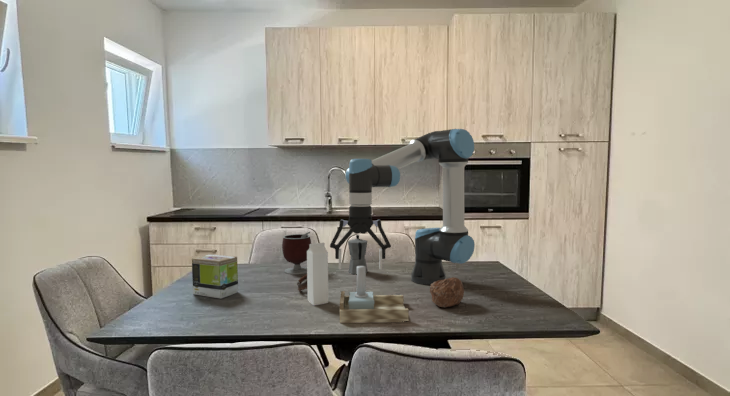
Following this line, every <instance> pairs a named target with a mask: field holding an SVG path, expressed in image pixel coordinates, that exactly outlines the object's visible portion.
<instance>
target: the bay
mask: <svg viewBox="0 0 730 396" xmlns="http://www.w3.org/2000/svg"><path fill="white" fill-rule="evenodd" d="M345 292H346V291H345V290H342V291H340V298H339V324H344V323H345V324H350V323H351V324H353V323H354V324H355V323H356V324H357V323H360V324H361V323H363V324H364V323H367V324H368V323H405V322H404V321H410V320H409V317H410V315H409V308H408V307H407V308H406V307H405V304H404V301H405V300H404V299H405V298H404V294H401V293H400V292H396V293H394V294H380V295H379V294H373V299H374V309H349V302H348V301H349V295H346V293H345ZM402 321H403V322H402Z"/></svg>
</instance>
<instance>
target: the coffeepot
mask: <svg viewBox="0 0 730 396" xmlns="http://www.w3.org/2000/svg"><path fill="white" fill-rule="evenodd" d="M355 237H356V238H354V239H350V240H348V241H347V245H348V250H349V251H348V252H349V255H350V259H349V264H348V265H349V266H348V273H349V274H350V273H351V274H350V275H355V274H357V266H365V267H366V274H367V273H368V267H367V266H368V265H367V259H366V254H367V248H368V247H367V246H368V240H365V239H362V238H360V235H359V234H355Z"/></svg>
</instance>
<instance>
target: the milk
mask: <svg viewBox="0 0 730 396" xmlns="http://www.w3.org/2000/svg"><path fill="white" fill-rule="evenodd" d="M328 257H329V252H328V250H327V249H326V243H325V242H317V243H316V242H315V243H311V244H310V245H309V249H308V250H307V261H306V267H307V273H306V275H307V279H306V281H307V289H306V290H307V301H308V302H309V303H310V304H311V305H312V306H319V305H325V304H328V303H329V258H328Z"/></svg>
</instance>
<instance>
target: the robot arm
mask: <svg viewBox="0 0 730 396" xmlns="http://www.w3.org/2000/svg"><path fill="white" fill-rule="evenodd" d="M474 151H475V141H474V138H473V135H472V134H471V133H470V132H469V131H468V130H466V129H465V128H452V129H444V130H436V131H435V130H434V131H431V132H428V133H426V134H423V135H422V136H419V137H416V138H415V139H412V140H410V141H409V143H408V144H407V145H404V146H402V147H399V148H397V149H395V150H393V151H391V152H388V153H386V154H383V155H381V156H379V157H377V158H374V159H371V158H352V159H350V161H349V164H348V166H349V167H348V168H347V169H346V171H345V180H346V182H347V184H348V186H349V188H348V190H349V191H348V203H349V204H348V205H350V206H349V207H348V216H349V217H348V220H344V219H340V220H339V223H338V224H339V226H338V228H337V230H336V232H335V234H334V236H333V239H332V241H331V242H330V244H329V247H330V248H331V249H334V252H335V253H334V254H335V255H334V257H335V260H338V270H342V248H341V247H342V246H343V244H344V243H345V242H346V241H347V240H348V238H350V237H351V235H352V234H355V235H359V234H362V235H363V234H367V233H368V234H369V236H371V238H372V239H373V240H374V241H375V242H376V244H377V245H378V246H379V247H380V248H379V251H378V252H379V253H378V256H379V257H378V258H379V259H378V261H379V263H378V269H379V270H383V260H385V259H386V250H387V249H391V246H392V245H391V243H390V241H389V239H388V236H387V234H386V233H385V231H384V229H383V226H382V221H381V219H377V220H373V219H372V217H373V215H372V214H373V210H372V209H373V208H372V206H371V205H372V204H373V200H372V199H373V195H372V194H373V188H391V187H396V186H398V184H399V183H400V182H401V172H400V170H401V169H402V168H405V167H407V166H409V165H411V164H414V163H416V162H417V163H421V162H424V161H427V160H438V164H439V166H441V168H442V226H441V227H427V228H418V229H416V230H415V236H414V256H415V258H414V260H415V261H414V262H415V263H414V265H413V268H412V271H411V274H410V276H411V277H410V279H411V281H412V282H413V283H416V284H420V285H427V286H428V285H430V286H431V284H432V283H434V282H436V281H439V280H444V279H447V275H446V271H445V269H444V266H443V261H445V262H449V263H454V264H461V265H462V264H465V263H467V262H469V260H470V259H471V258H472V256H473V254H474V250H475V247H476V246H475V240H474V239H473V237H472V236H471V235H469V229H468V228H467V227H466V226H465V167H466V166H467V164H469V159H470V158H471V157H472V156H473V153H474ZM346 225H348V227H349V228H350V229H349V230H347V232H346V233H345V235H344V236H343V237H341V239H340V240H339V241H338V243H337V240H338V238H339V236H340V235H341V233H342V230H343V228H346ZM373 225H374V226H375V227H377V228H378V230H379V233H380V235H381V237H382V239H383V240H384V243H385V244H384V243H383V242H382V241H381V240H380V238H379V237H378V236H377V235H376V234H375V232H374V231H373V230H372V229H371V228H372V226H373ZM336 243H337V244H336Z"/></svg>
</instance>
